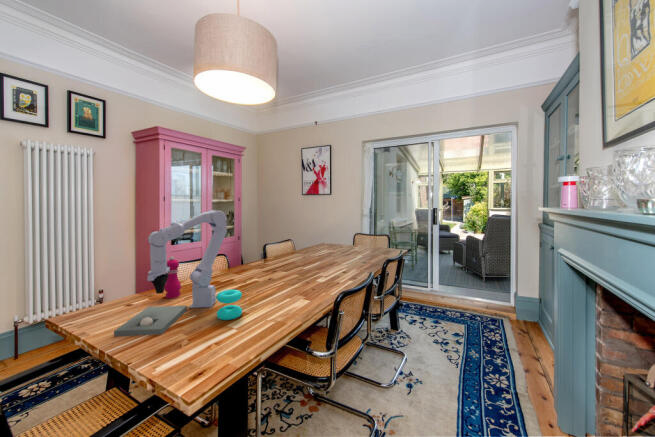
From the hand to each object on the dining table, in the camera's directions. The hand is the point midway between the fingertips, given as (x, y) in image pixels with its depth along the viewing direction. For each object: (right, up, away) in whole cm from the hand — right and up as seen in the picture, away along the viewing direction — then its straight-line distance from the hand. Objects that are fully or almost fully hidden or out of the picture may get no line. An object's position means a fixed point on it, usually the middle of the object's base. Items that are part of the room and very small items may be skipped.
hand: (160, 293), depth 114 cm
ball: (+2, -8, -11) cm, 14 cm away
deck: (+1, -10, -6) cm, 12 cm away
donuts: (+29, -10, 0) cm, 30 cm away
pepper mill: (-8, -8, +23) cm, 26 cm away
